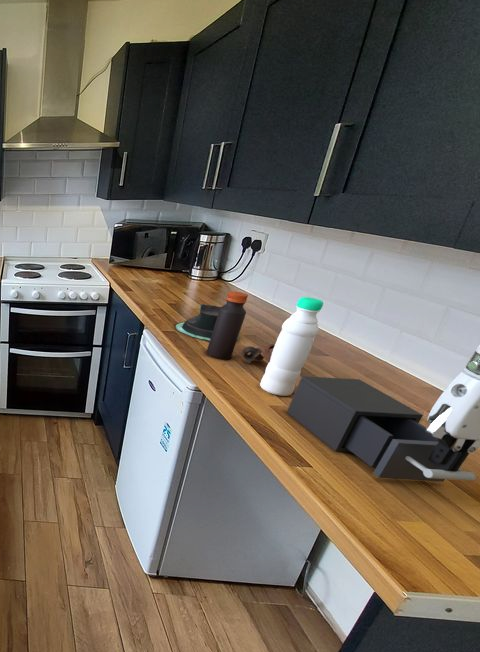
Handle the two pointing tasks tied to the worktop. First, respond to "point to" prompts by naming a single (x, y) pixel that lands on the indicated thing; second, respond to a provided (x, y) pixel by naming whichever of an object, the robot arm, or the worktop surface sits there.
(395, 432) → the mini chest drawer
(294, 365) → the water bottle
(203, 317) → the dark green hat
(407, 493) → the worktop surface
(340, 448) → the grey drawer unit
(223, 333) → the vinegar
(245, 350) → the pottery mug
